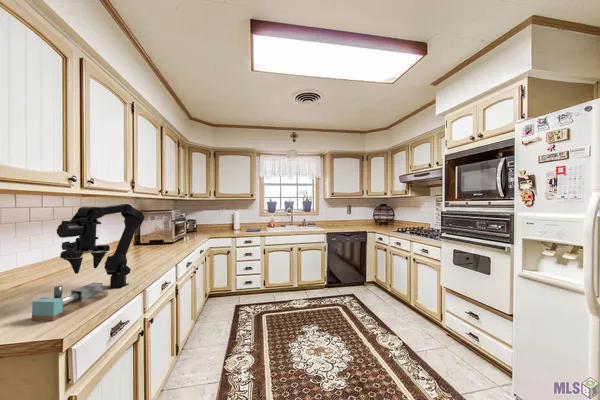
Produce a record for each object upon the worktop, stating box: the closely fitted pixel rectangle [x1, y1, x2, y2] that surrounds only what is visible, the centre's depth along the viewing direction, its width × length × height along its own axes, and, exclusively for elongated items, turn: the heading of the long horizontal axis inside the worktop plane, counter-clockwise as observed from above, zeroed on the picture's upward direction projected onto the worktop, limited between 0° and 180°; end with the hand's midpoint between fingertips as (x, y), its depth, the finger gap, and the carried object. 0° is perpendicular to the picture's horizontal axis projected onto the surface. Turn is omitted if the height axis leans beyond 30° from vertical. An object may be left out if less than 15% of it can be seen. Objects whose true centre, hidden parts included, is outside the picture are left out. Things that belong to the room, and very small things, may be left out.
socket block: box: [31, 297, 63, 316], centre depth 89 cm, size 3×8×5 cm, turn 87°
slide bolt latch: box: [31, 282, 109, 322], centre depth 99 cm, size 24×8×6 cm, turn 178°
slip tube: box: [53, 285, 81, 305], centre depth 96 cm, size 13×3×8 cm, turn 178°
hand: (86, 270), depth 108 cm, fingers open, 9 cm apart
